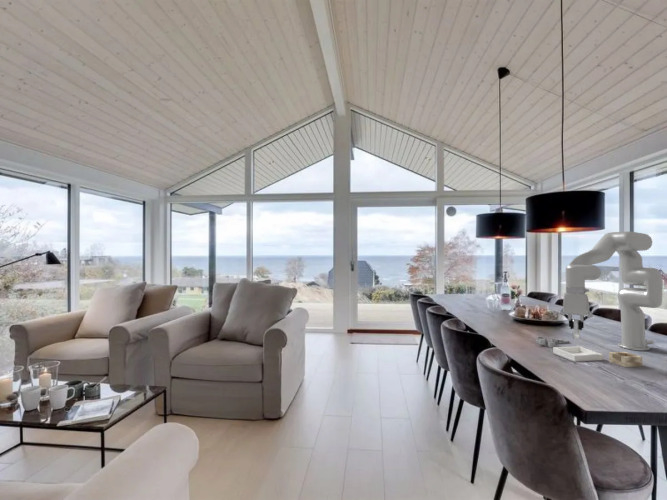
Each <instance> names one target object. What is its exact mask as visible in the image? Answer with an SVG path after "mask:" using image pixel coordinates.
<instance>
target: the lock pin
mask: <svg viewBox="0 0 667 500" xmlns="http://www.w3.org/2000/svg"><path fill="white" fill-rule="evenodd" d="M579 322H580V319H577V318H575V319H574V318H572V327H573V329H571V330H572V339H574V340H581V330H580V329H579Z"/></svg>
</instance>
